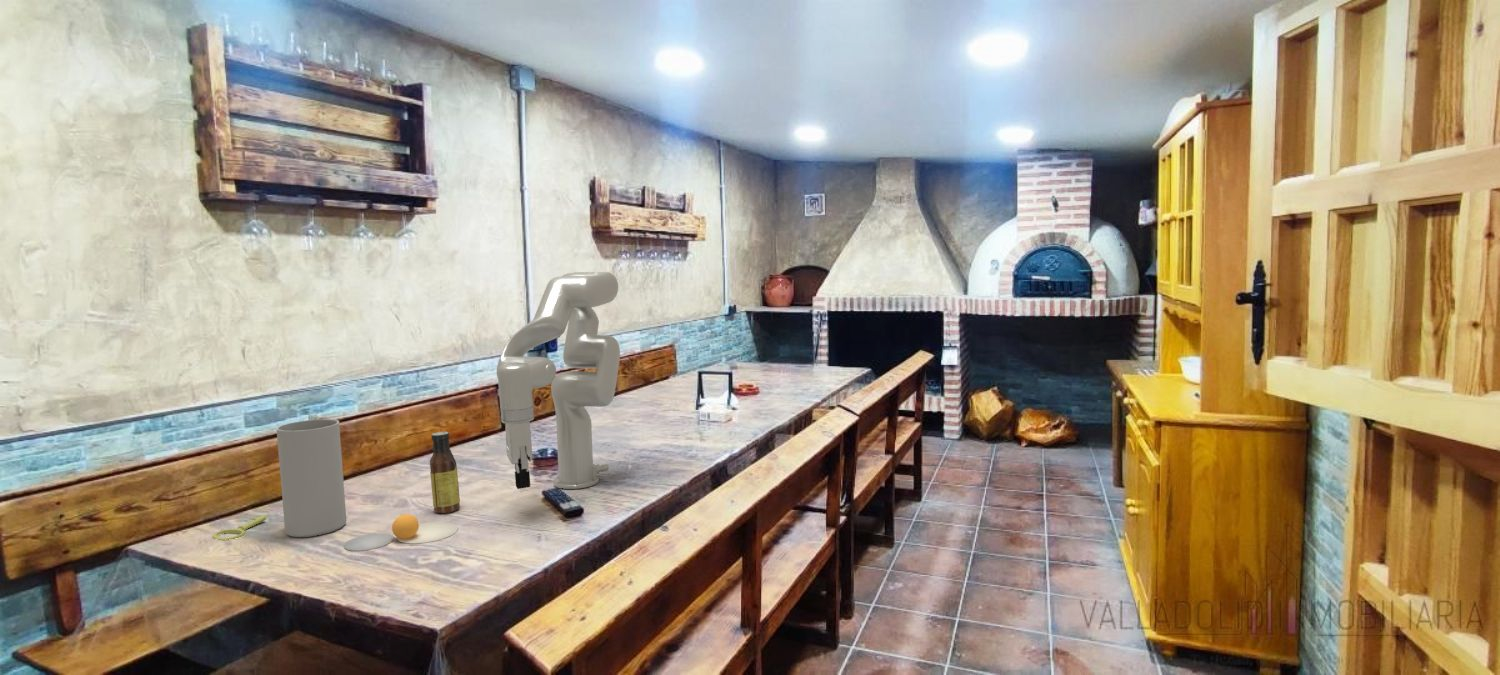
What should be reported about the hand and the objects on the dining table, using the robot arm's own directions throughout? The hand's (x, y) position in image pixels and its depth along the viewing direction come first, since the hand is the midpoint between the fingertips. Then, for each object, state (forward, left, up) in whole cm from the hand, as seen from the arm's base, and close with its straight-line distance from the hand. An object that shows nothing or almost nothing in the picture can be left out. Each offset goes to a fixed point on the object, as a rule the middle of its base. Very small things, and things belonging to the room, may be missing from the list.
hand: (523, 486), depth 178 cm
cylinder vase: (+39, -27, -8) cm, 48 cm away
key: (+52, -39, -8) cm, 66 cm away
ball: (+26, -5, -5) cm, 27 cm away
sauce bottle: (+12, -18, -8) cm, 23 cm away
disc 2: (+21, -5, -7) cm, 23 cm away
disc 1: (+33, -9, -7) cm, 35 cm away
